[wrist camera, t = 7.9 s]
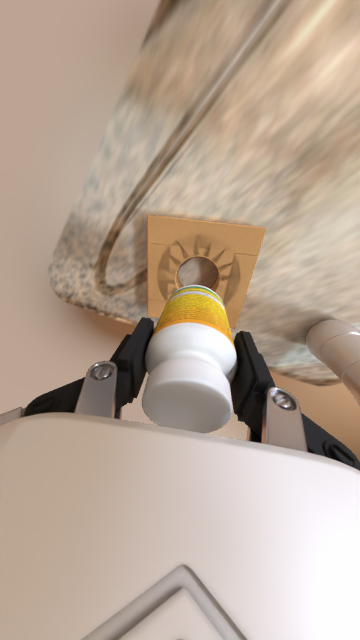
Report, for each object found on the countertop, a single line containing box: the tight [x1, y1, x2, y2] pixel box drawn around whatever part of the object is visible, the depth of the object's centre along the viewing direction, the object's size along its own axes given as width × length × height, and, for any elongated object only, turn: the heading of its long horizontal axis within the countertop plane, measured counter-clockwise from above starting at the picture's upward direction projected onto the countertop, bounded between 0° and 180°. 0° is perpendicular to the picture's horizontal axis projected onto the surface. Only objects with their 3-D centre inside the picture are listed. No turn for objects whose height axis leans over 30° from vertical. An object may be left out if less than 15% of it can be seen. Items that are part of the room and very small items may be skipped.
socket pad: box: [147, 215, 267, 329], centre depth 25 cm, size 14×14×3 cm
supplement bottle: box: [142, 285, 238, 434], centre depth 12 cm, size 5×5×10 cm
